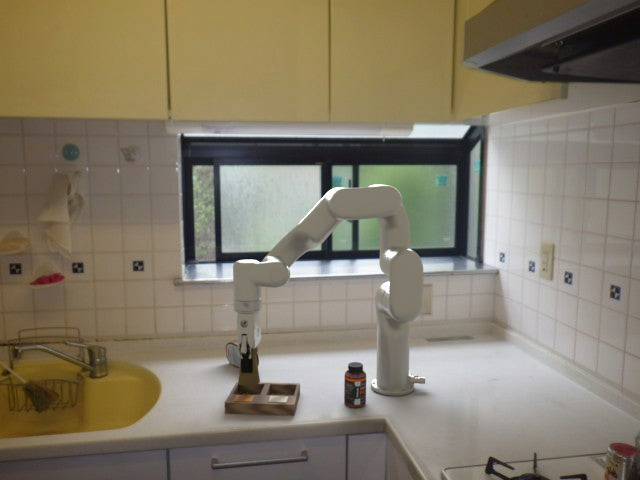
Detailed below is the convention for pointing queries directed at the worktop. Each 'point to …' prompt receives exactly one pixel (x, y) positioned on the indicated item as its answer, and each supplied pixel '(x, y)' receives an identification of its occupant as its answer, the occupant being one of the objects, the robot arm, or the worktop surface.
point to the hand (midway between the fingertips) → (248, 368)
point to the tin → (235, 354)
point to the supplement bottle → (355, 385)
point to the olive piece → (253, 377)
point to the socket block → (263, 399)
